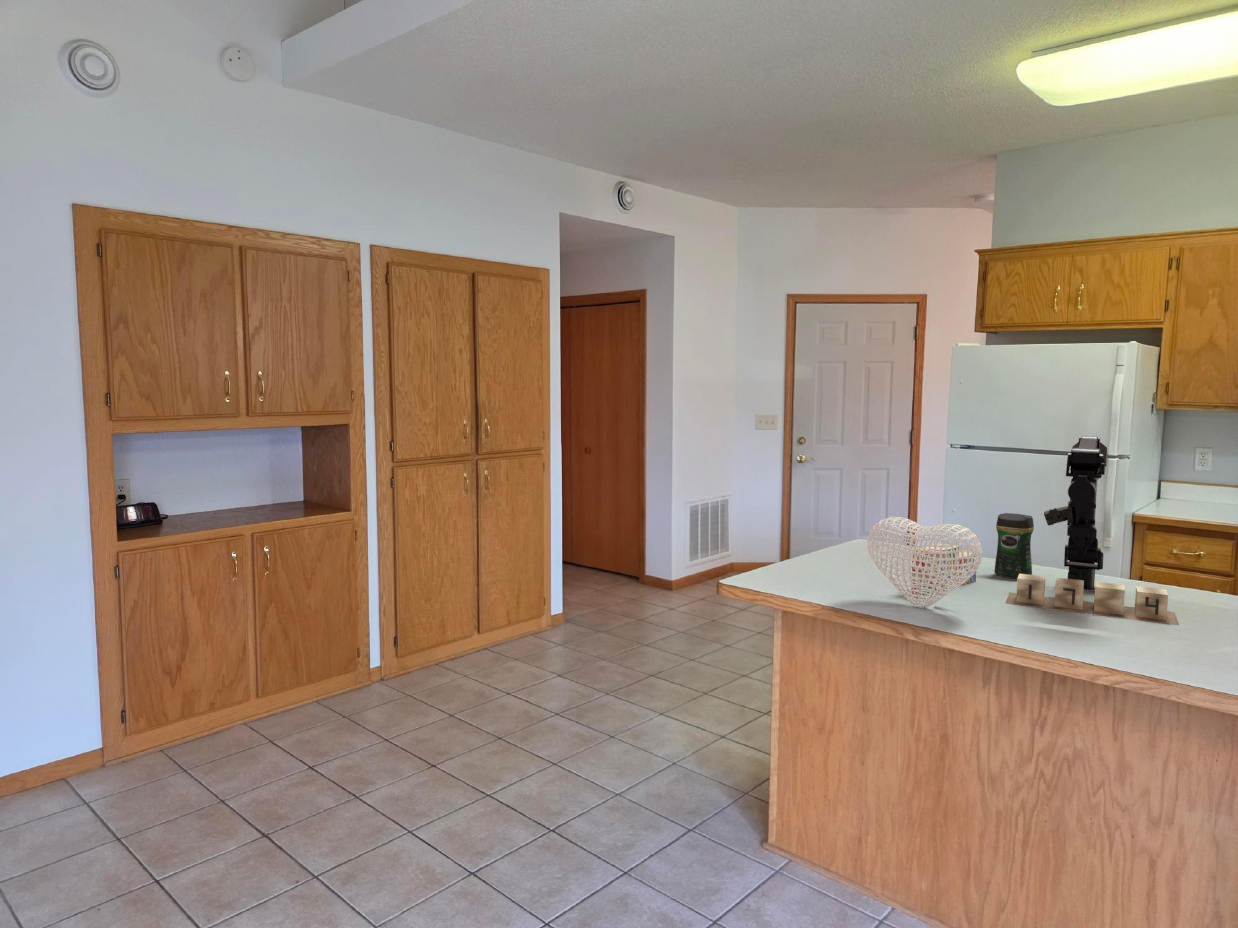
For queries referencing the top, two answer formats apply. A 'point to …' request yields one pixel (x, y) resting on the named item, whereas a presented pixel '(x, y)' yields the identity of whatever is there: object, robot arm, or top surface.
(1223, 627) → the top surface
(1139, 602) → the block four
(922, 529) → the heart
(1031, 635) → the top surface
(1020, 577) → the block one
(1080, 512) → the robot arm
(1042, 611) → the top surface
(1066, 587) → the block seven
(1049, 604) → the walnut mat
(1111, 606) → the plain block
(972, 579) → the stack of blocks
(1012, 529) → the coffee jar
